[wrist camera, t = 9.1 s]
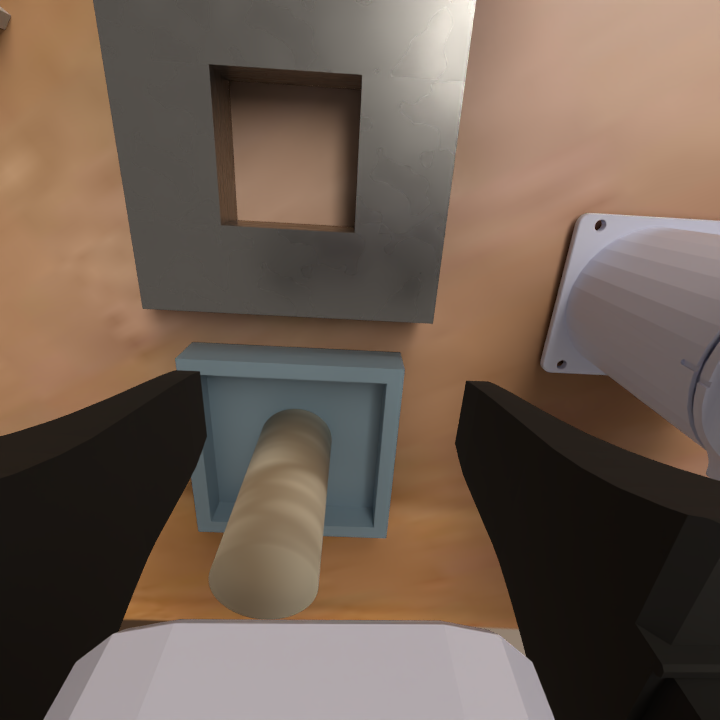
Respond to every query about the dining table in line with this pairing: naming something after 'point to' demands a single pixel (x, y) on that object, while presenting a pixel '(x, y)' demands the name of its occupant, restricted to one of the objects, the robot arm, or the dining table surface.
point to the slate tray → (306, 392)
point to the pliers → (4, 18)
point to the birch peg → (277, 521)
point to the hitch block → (216, 161)
